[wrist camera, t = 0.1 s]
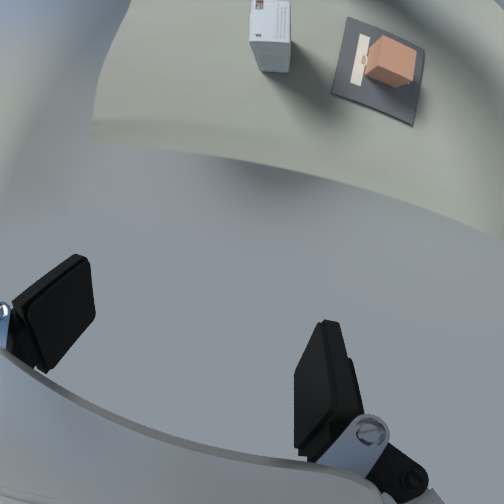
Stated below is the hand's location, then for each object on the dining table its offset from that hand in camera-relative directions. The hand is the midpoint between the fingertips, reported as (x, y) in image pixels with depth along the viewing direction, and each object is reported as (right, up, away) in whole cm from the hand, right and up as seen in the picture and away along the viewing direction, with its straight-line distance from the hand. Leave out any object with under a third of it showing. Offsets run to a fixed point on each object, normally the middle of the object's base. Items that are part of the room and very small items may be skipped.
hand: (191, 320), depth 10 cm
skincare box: (+5, +30, +21) cm, 37 cm away
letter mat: (+21, +29, +19) cm, 41 cm away
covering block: (+21, +29, +19) cm, 40 cm away
